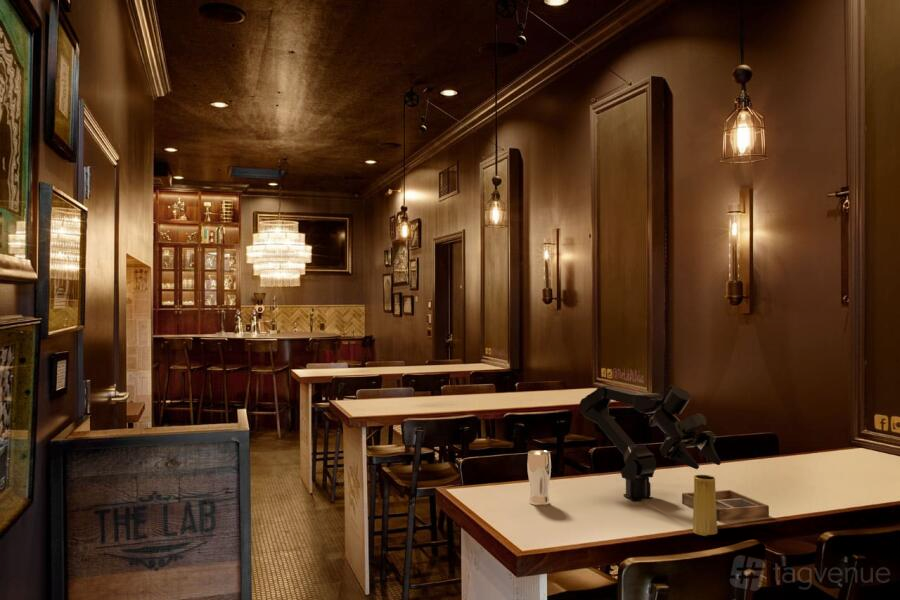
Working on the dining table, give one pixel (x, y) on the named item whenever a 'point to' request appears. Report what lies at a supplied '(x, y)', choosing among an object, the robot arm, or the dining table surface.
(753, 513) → the tray
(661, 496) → the dining table surface
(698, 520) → the vase
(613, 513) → the dining table surface
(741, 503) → the holder plate
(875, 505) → the dining table surface
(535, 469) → the beer glass
